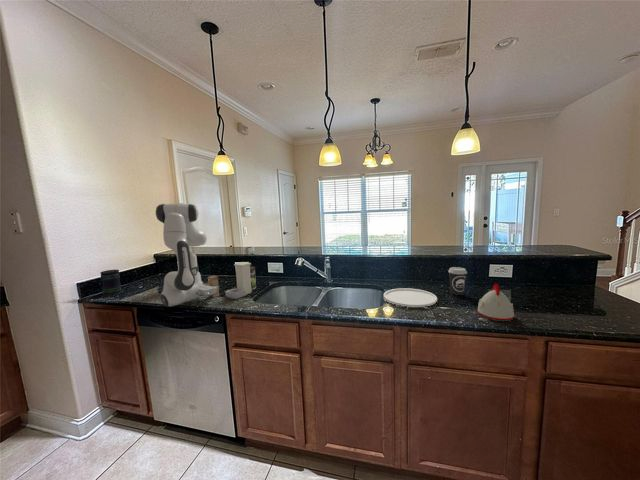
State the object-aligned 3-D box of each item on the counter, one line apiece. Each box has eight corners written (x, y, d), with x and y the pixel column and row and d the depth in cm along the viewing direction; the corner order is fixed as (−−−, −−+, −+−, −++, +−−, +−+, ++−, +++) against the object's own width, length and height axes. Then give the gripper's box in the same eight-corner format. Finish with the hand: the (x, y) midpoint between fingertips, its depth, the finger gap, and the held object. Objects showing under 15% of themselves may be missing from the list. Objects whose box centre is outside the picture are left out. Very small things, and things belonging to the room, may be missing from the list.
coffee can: (258, 286, 180) (257, 266, 179) (252, 290, 170) (250, 269, 169) (244, 285, 183) (243, 265, 181) (237, 290, 173) (235, 269, 171)
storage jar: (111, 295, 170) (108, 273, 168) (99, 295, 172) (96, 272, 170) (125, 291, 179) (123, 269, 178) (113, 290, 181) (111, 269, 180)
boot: (225, 297, 160) (223, 266, 157) (244, 290, 172) (242, 261, 169) (235, 299, 155) (233, 267, 153) (253, 292, 167) (252, 263, 165)
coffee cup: (468, 293, 152) (469, 268, 150) (463, 298, 145) (464, 271, 143) (450, 290, 158) (451, 266, 157) (445, 294, 151) (445, 269, 150)
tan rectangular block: (209, 296, 162) (207, 277, 161) (215, 294, 166) (213, 275, 164) (213, 297, 160) (211, 278, 158) (219, 295, 163) (218, 276, 162)
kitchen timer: (480, 319, 117) (482, 287, 115) (474, 308, 130) (476, 279, 128) (518, 323, 112) (520, 289, 110) (508, 311, 125) (510, 281, 123)
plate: (398, 312, 129) (398, 307, 129) (375, 294, 157) (375, 290, 156) (448, 306, 135) (449, 301, 135) (418, 290, 162) (418, 286, 162)
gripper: (202, 289, 145) (223, 282, 156) (181, 284, 156) (203, 278, 167) (203, 300, 145) (224, 293, 157) (182, 294, 156) (204, 288, 168)
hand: (213, 285), depth 162 cm, fingers open, 8 cm apart
